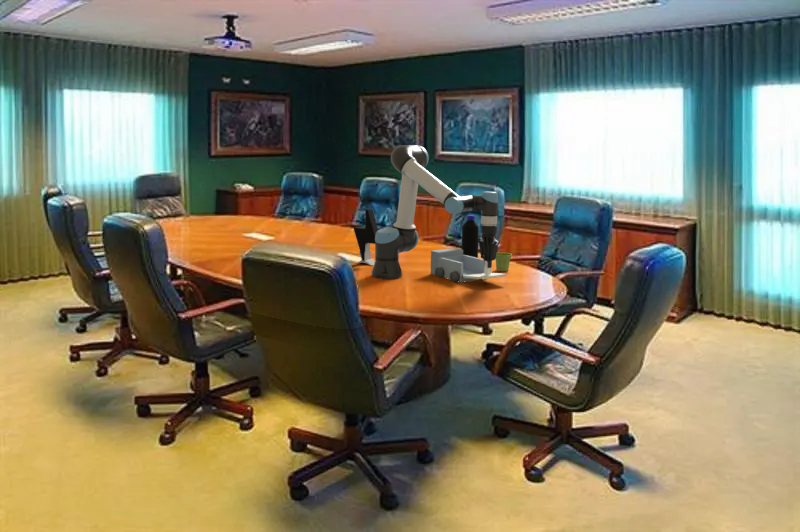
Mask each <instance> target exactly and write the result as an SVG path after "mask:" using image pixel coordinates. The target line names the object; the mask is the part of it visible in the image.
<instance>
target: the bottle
mask: <svg viewBox="0 0 800 532" xmlns="http://www.w3.org/2000/svg"><path fill="white" fill-rule="evenodd" d="M475 220H476V215H474V214H467V215H466V221H465V222H464V224H463V225H462V227H461V249H462V250H463V255H467V256H471V257H476V258H479V241H478V238H480V233H479V232H480V230H479V229H480V227H479V225H478V223H477V222H476V221H475Z"/></svg>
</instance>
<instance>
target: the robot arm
mask: <svg viewBox="0 0 800 532" xmlns="http://www.w3.org/2000/svg"><path fill="white" fill-rule="evenodd" d="M429 156H430V155H429V153H428V151H427V150H426V148H425V147H423V146H421V145H419V144H418V145H417V144H408V145H404V144H403V145H398V146H396V147H395V148H394V149H393V150H392V152H391V154H390V162H391V165H392V166H393V167H394V169H395V170H397V171H398V172H399V173H400V174H401V182H400V189H399V190H400V191H399V198H398V199H399V200H398V207H397V214H396V215H397V216H396V221H395V222H394V223H393V224H392V227H387V228H381V229H378V231H377V232H376V235H375V244H374V247H375V248H374V249H375V251H374V253H375V254H374V262H375V263H374V265H373V267H372V270H371V277H372V276H373V277H372V278H374V277H376V278H375V279H379V278H382V279H381V280H394V279H393V278H396V279H400V278H402V277H403V271H402V267H401V265H400V261H399V258H400V257H399V256H400V255H399V254H401V253H405V252H409V251H412V250H413V249H415V248H416V246H417V245H418V243H419V237H420V236H419V234H418V231H417V230H416V229H417V227H416V225H415V223H414V222H415V213H416V205H417V197H418V189H419V186H420V187H421V188H422V189H424V190H425V191H426V192H427V193H429V194H430V195H431V196H432V197H434V198H435V199H436V200H438V202H439V203H441V204H442V205H444V209H445V210H446V212H447V213H449V214H453V215H456V214H458V215H459V214H461V213H466V212H481V213H480V215H481V216H480V224H481V225H480V233H481V237H479V238H478V247H479V255H480V259H483V260H484V274H485V275H489V274H491V273H492V266H493V261H496V259H495V258H496V253H498V247H499V244H500V240H497V237H496V236H497V235H496V234H497V233H498V225H497V224H498V206H499V194H498V192H497V191H493V190H492V191H482V192H481V194H480V195H478V194H469V193H468V194H467V193H465V194H464V193H463V194H460V195H459V194H457V193H456V192H455V191H453V190H452V189H451V188H450V187H448V186H447V185H446V184H445V183H444V182H442V181H441V180H440V179H439V178H437V177H436V176H435V175H433V174H432V173H431V172H429V170H427V169H426V166H427V165H428V164H429V159H430V158H429ZM399 277H400V278H399Z"/></svg>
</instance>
